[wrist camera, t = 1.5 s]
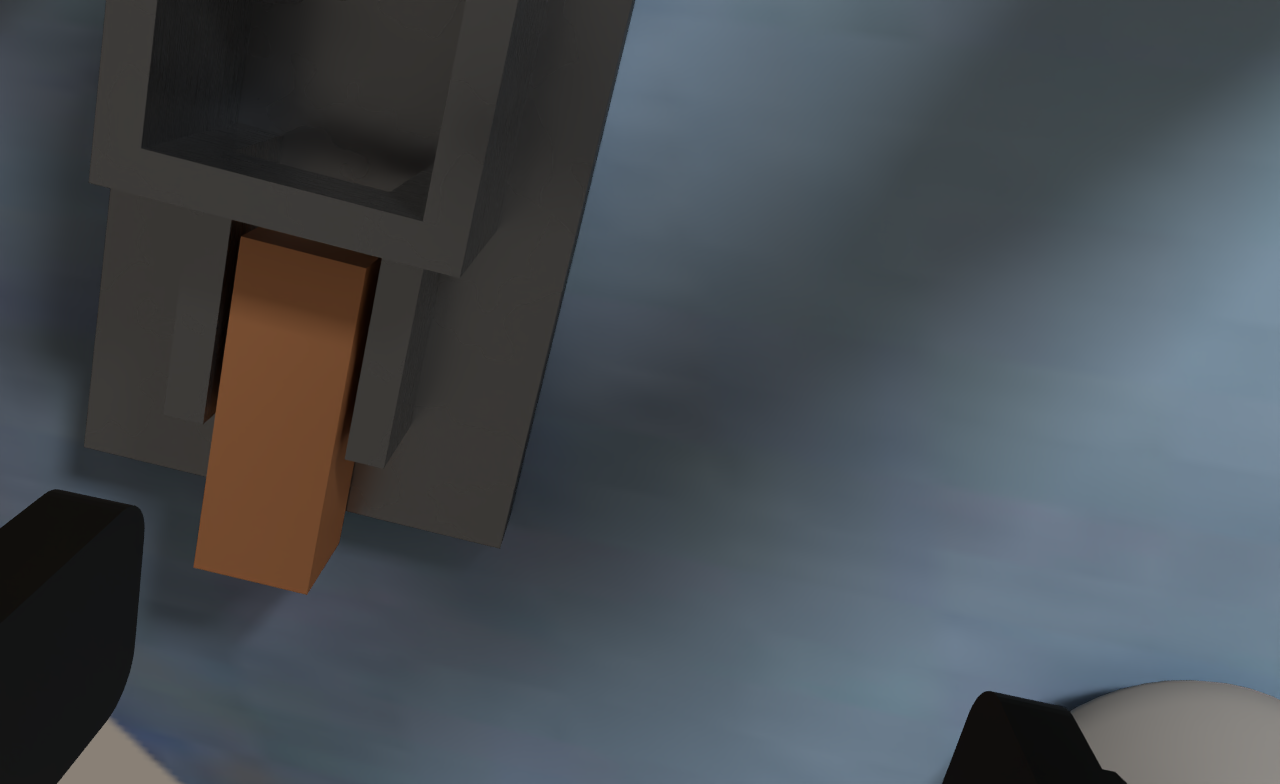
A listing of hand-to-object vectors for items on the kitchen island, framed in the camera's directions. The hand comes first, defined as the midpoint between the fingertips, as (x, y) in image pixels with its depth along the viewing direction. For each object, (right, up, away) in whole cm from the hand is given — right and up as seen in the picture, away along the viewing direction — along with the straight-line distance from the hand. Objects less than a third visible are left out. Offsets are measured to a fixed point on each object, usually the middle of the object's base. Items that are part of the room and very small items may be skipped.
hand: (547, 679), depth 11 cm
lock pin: (-8, +3, +20) cm, 22 cm away
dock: (-7, +9, +20) cm, 23 cm away
